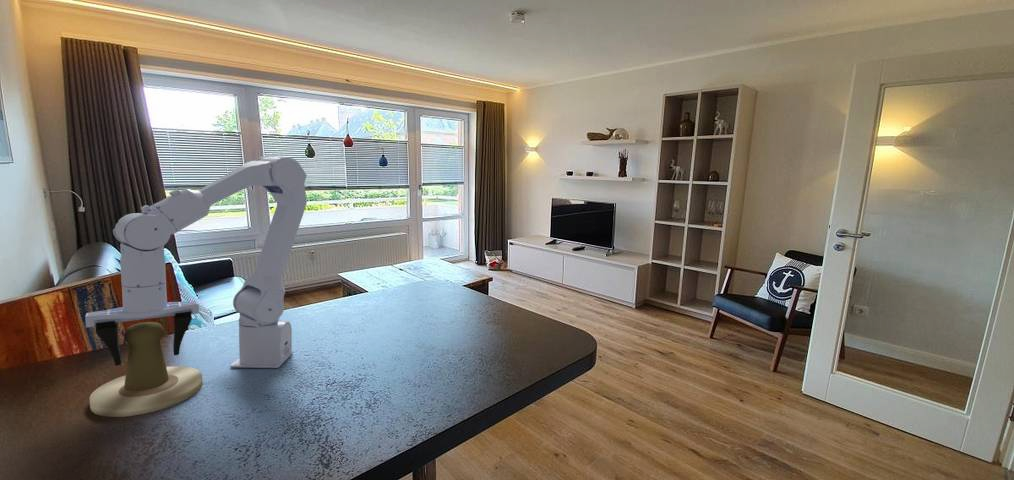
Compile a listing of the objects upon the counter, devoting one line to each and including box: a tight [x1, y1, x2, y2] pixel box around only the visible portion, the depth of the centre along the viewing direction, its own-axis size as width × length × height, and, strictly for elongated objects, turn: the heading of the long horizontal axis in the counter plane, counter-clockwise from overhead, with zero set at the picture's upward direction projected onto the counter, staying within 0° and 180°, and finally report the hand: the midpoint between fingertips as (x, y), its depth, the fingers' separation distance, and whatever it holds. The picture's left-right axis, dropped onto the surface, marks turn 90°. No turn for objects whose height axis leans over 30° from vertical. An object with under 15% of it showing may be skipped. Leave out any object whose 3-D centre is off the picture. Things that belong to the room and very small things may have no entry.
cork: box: [124, 321, 169, 391], centre depth 72 cm, size 6×6×11 cm
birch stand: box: [88, 365, 203, 418], centre depth 72 cm, size 15×15×2 cm
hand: (148, 358), depth 71 cm, fingers open, 7 cm apart
